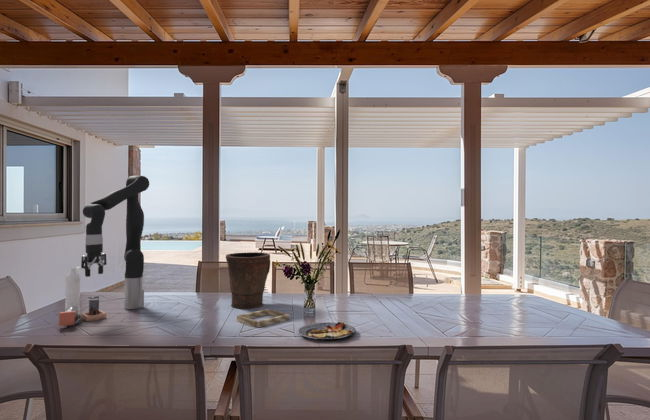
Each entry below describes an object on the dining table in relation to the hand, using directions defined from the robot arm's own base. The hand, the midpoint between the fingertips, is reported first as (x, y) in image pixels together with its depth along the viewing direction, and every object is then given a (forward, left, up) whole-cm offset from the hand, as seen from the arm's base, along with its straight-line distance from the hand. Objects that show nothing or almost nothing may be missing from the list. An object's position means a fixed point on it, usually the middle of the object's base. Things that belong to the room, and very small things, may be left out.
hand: (94, 275), depth 198 cm
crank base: (+10, +1, -22) cm, 24 cm away
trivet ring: (-57, +65, -22) cm, 89 cm away
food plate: (-62, +104, -22) cm, 123 cm away
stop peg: (0, 0, -21) cm, 21 cm away
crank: (+12, +5, -21) cm, 24 cm away
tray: (0, 0, -22) cm, 22 cm away
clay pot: (-73, +32, -22) cm, 83 cm away
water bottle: (+5, -15, -22) cm, 27 cm away
